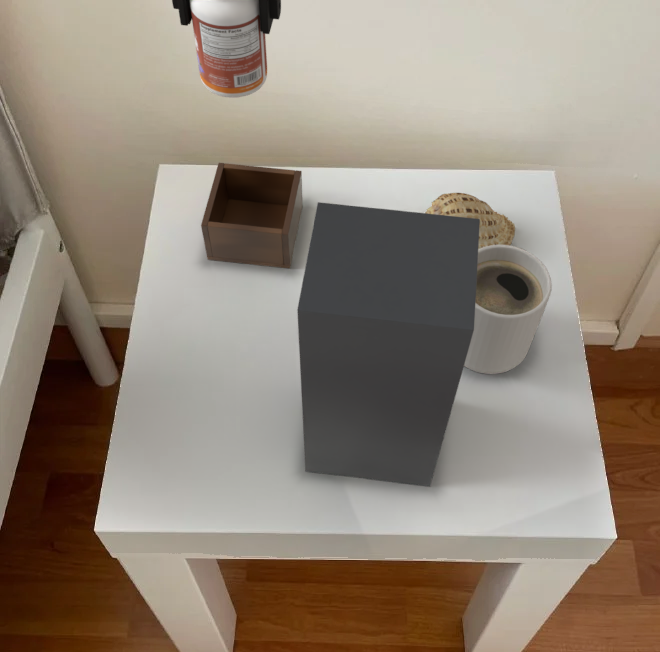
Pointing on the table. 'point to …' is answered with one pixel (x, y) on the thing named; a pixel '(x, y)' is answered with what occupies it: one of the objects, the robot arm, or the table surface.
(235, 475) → the table surface
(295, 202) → the wooden box
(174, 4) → the robot arm
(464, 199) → the seashell
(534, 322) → the mug
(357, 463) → the block
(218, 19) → the pill bottle
